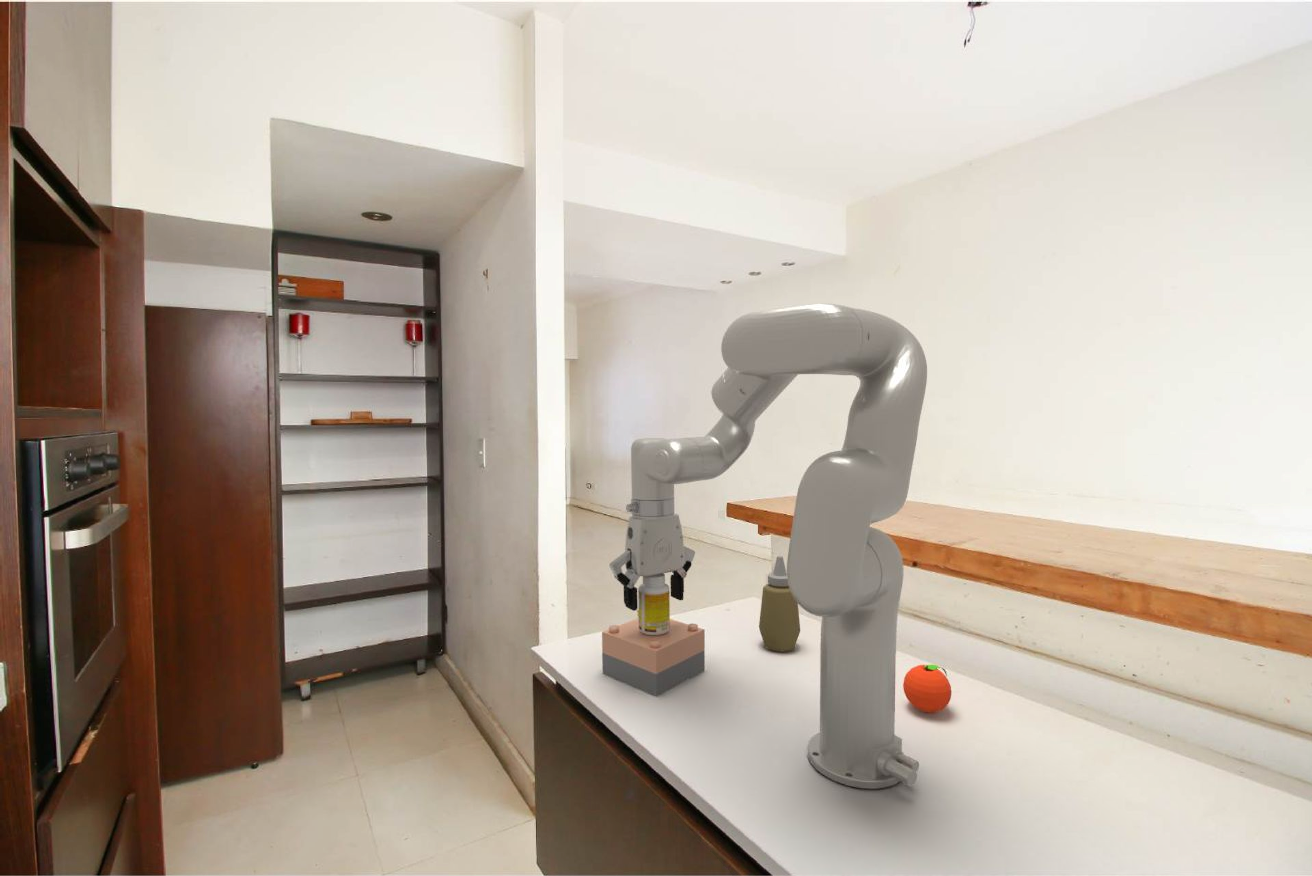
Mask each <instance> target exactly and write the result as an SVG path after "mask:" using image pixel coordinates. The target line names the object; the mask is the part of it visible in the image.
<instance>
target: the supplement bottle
mask: <svg viewBox="0 0 1312 876" xmlns="http://www.w3.org/2000/svg"><path fill="white" fill-rule="evenodd" d="M665 575H666V573H663V574H657V575H652V576H642V583H641V584H639V586H638V588H637V605H638V609H639V617H638V618H639V630H640V631H641V632H642V633H643V634H646V635H662V634H665V633H667V632H668V631H669V628H670V619H671V618H670V617H671V616H670V607H671V606H670V586H669V585H668V584H667V583H666V576H665Z"/></svg>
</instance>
